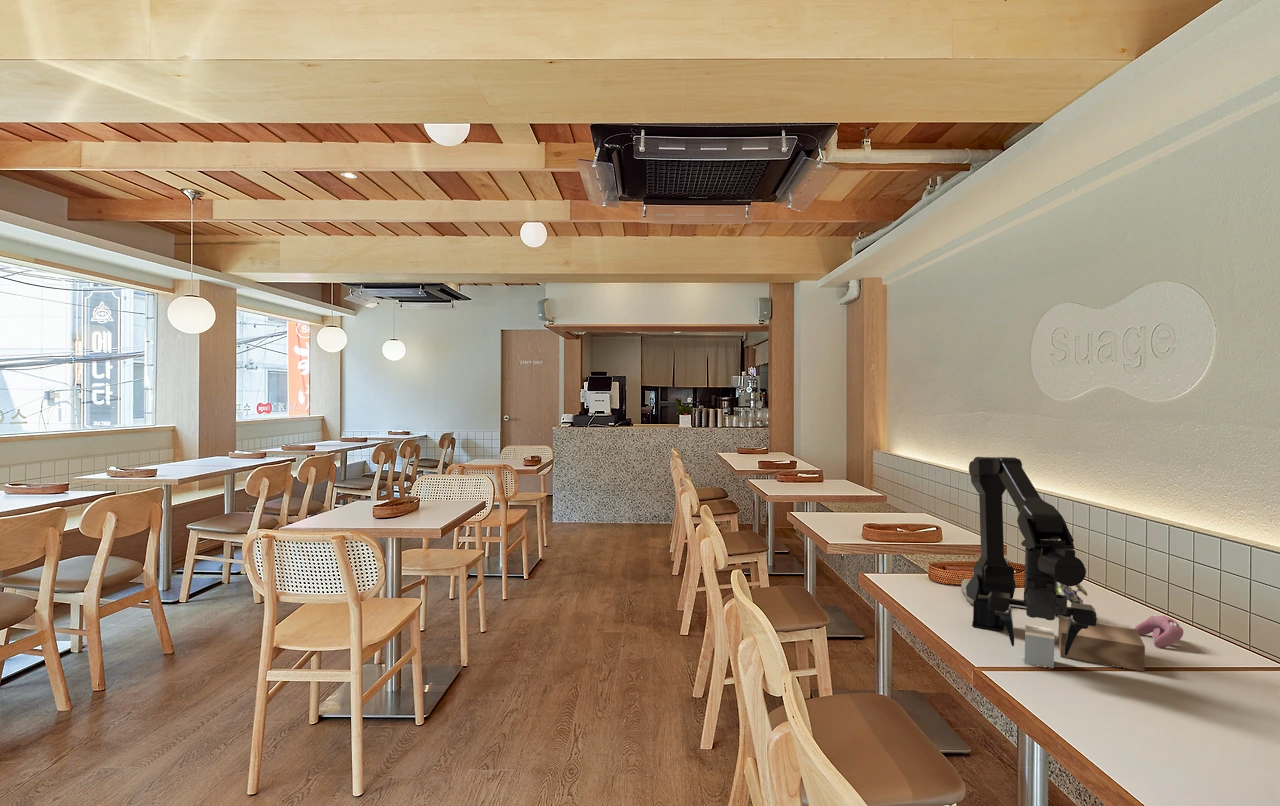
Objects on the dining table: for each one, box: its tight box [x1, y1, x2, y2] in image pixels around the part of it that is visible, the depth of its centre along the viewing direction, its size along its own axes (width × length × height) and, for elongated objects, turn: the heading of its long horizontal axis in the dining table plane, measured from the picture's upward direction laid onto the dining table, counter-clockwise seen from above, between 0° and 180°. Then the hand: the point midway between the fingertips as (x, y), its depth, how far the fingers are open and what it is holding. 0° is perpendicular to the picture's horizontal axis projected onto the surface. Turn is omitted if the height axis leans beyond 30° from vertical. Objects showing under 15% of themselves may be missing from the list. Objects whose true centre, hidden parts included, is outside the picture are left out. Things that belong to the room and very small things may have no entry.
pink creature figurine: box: [1134, 613, 1184, 649], centre depth 151 cm, size 10×5×7 cm, turn 169°
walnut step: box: [1057, 617, 1146, 673], centre depth 142 cm, size 14×12×5 cm
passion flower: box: [1057, 582, 1088, 604], centre depth 170 cm, size 11×11×12 cm
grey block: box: [1024, 624, 1055, 669], centre depth 137 cm, size 5×5×6 cm
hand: (1038, 650), depth 137 cm, fingers open, 9 cm apart
